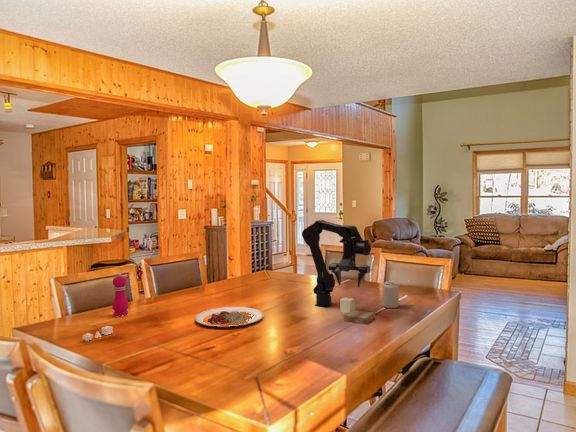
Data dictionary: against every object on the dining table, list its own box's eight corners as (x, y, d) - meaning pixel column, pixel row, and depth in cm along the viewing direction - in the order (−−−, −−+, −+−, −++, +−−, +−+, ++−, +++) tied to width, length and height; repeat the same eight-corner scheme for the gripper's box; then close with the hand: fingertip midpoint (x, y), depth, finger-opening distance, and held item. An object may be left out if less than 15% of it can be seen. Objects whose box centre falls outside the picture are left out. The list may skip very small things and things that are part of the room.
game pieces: (108, 333, 184) (107, 325, 184) (113, 334, 182) (113, 326, 182) (81, 342, 174) (80, 333, 174) (86, 343, 172) (86, 335, 172)
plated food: (271, 312, 211) (271, 305, 211) (249, 332, 182) (249, 324, 182) (213, 309, 219) (212, 302, 219) (182, 327, 190) (182, 319, 190)
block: (340, 312, 209) (340, 299, 209) (344, 309, 213) (344, 297, 213) (350, 313, 207) (350, 300, 206) (354, 311, 211) (354, 298, 211)
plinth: (344, 322, 195) (344, 315, 195) (353, 316, 203) (353, 309, 203) (365, 325, 189) (365, 318, 189) (374, 319, 198) (374, 312, 198)
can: (399, 309, 212) (398, 284, 212) (382, 308, 214) (382, 283, 213) (398, 305, 220) (398, 280, 219) (382, 304, 221) (382, 280, 220)
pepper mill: (132, 314, 212) (130, 271, 210) (120, 318, 205) (119, 274, 204) (120, 312, 215) (119, 271, 214) (109, 316, 208) (107, 273, 207)
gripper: (323, 253, 205) (323, 287, 207) (363, 257, 197) (363, 292, 198) (332, 250, 215) (332, 282, 216) (371, 253, 207) (370, 287, 208)
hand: (349, 286), depth 209 cm, fingers open, 9 cm apart
